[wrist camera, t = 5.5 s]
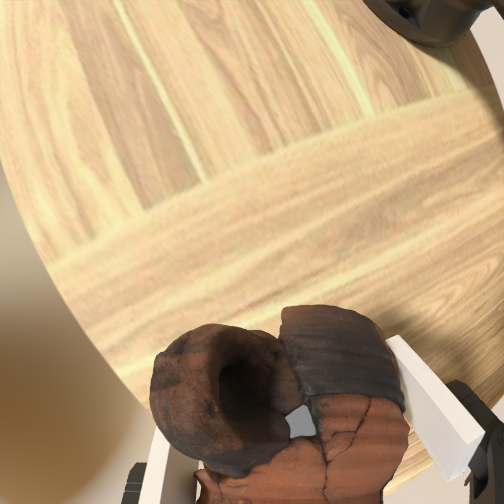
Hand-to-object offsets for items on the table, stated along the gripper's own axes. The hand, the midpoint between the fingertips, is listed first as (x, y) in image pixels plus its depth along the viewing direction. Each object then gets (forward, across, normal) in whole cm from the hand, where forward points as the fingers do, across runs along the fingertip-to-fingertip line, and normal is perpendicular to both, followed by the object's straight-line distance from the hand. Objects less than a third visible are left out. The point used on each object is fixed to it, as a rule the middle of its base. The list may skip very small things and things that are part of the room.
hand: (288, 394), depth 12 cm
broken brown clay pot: (+1, 0, 0) cm, 1 cm away
